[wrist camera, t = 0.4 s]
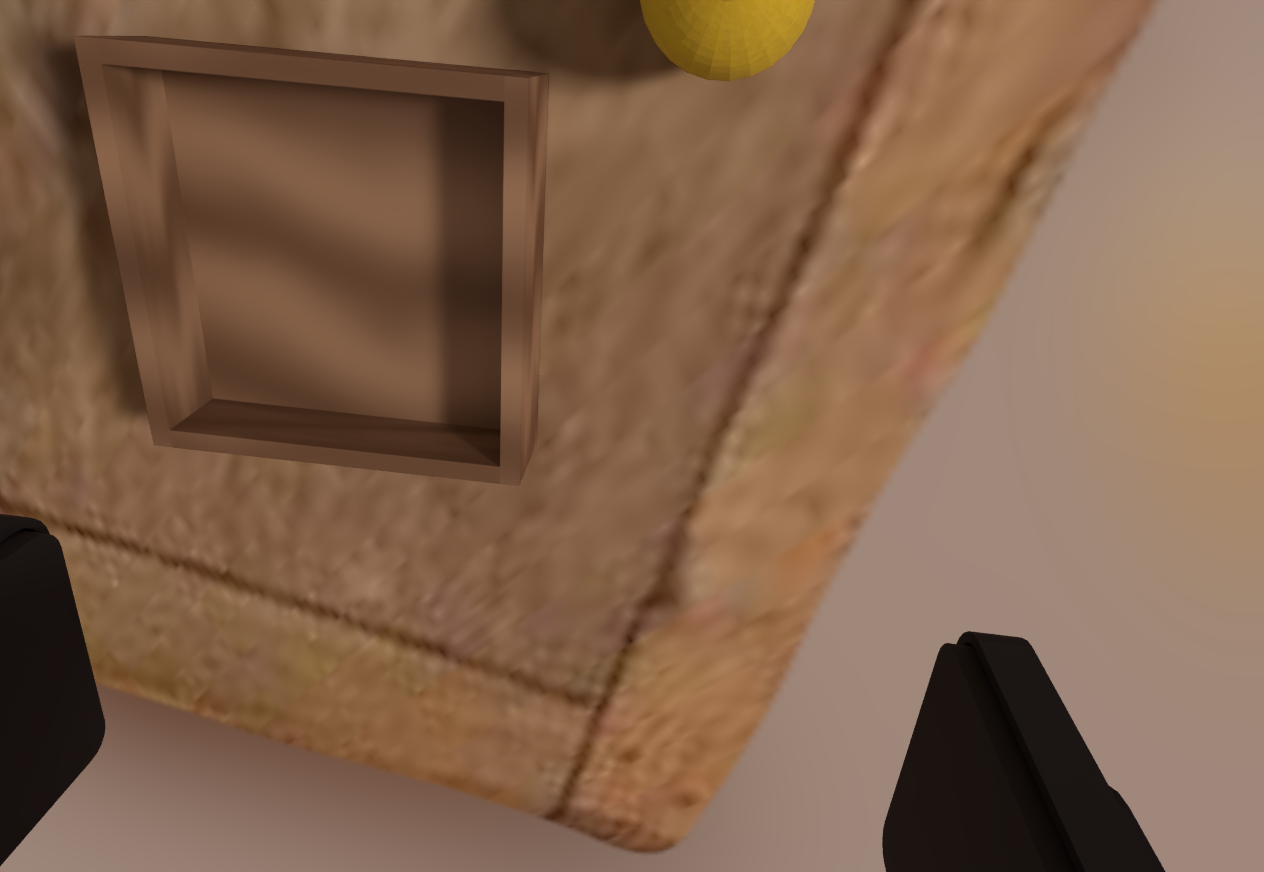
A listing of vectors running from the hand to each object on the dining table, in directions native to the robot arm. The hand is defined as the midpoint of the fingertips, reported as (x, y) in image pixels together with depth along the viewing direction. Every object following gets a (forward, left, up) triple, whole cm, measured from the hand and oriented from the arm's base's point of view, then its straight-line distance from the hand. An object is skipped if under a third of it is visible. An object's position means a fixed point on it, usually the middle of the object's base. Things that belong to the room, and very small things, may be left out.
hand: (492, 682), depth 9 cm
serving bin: (+3, -12, -27) cm, 29 cm away
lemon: (-8, +2, -27) cm, 28 cm away
